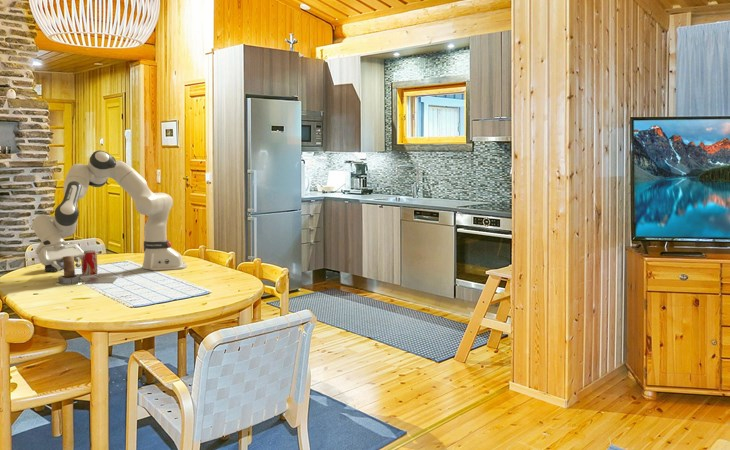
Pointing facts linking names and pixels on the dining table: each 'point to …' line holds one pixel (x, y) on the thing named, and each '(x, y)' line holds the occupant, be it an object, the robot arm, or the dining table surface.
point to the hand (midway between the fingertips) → (70, 268)
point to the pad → (101, 280)
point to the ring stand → (69, 281)
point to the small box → (53, 269)
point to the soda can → (89, 263)
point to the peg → (69, 266)
